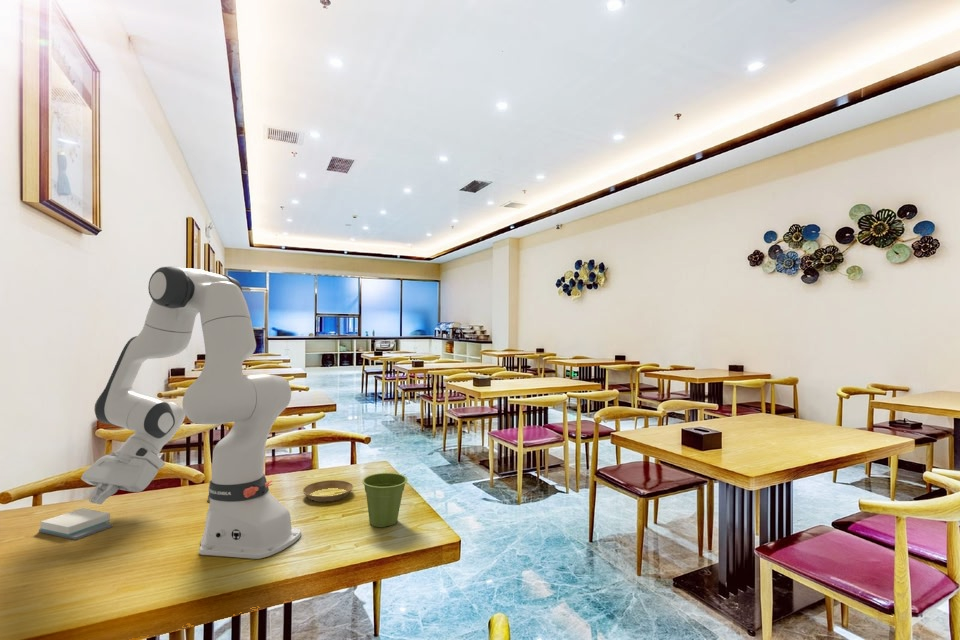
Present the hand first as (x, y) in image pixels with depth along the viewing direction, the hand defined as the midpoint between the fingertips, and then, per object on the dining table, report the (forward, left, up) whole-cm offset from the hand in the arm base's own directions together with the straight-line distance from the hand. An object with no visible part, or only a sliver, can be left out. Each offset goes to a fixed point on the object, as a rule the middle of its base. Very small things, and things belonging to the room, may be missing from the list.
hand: (94, 502), depth 115 cm
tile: (0, -1, -3) cm, 3 cm away
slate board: (-1, +4, -5) cm, 7 cm away
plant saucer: (-44, -37, -5) cm, 58 cm away
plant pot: (-70, -25, -5) cm, 74 cm away
